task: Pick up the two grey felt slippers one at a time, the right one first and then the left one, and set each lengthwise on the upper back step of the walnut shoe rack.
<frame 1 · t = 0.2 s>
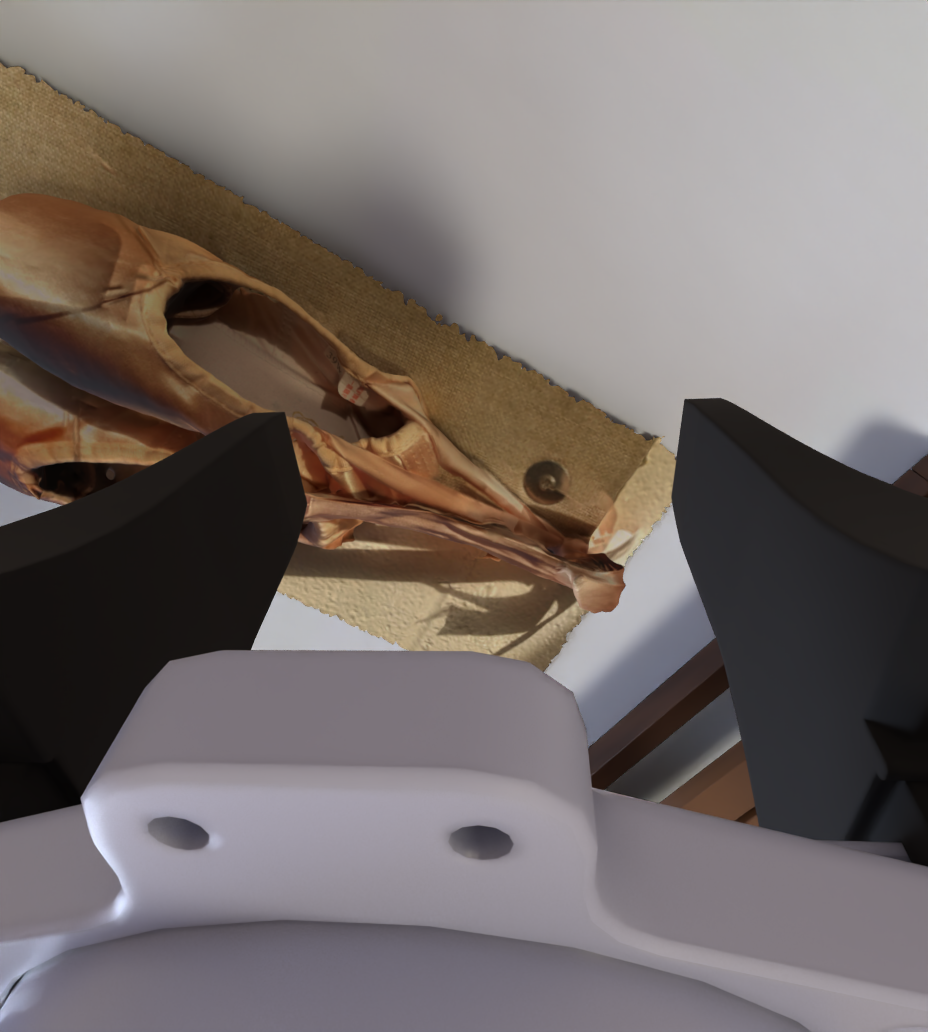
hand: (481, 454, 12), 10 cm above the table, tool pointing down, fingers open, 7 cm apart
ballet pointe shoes: (275, 417, 23), on the table
shoe rack: (815, 729, 28), on the table
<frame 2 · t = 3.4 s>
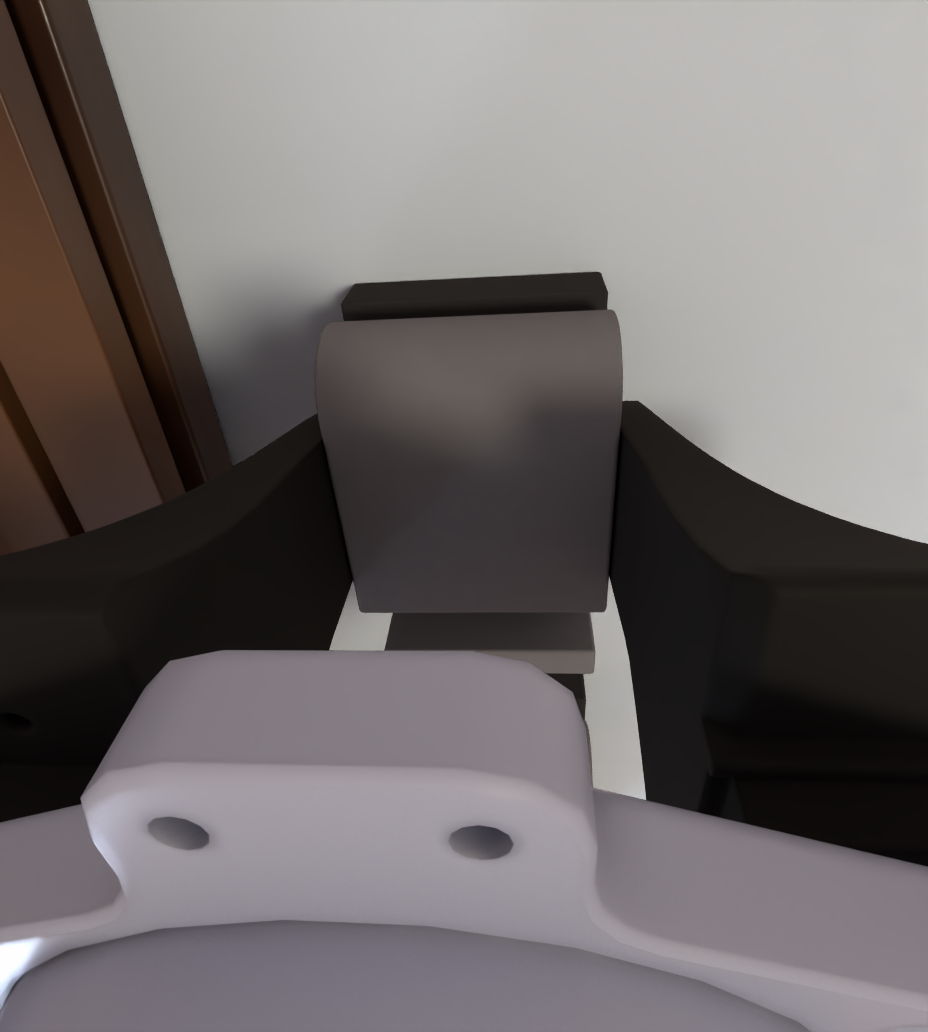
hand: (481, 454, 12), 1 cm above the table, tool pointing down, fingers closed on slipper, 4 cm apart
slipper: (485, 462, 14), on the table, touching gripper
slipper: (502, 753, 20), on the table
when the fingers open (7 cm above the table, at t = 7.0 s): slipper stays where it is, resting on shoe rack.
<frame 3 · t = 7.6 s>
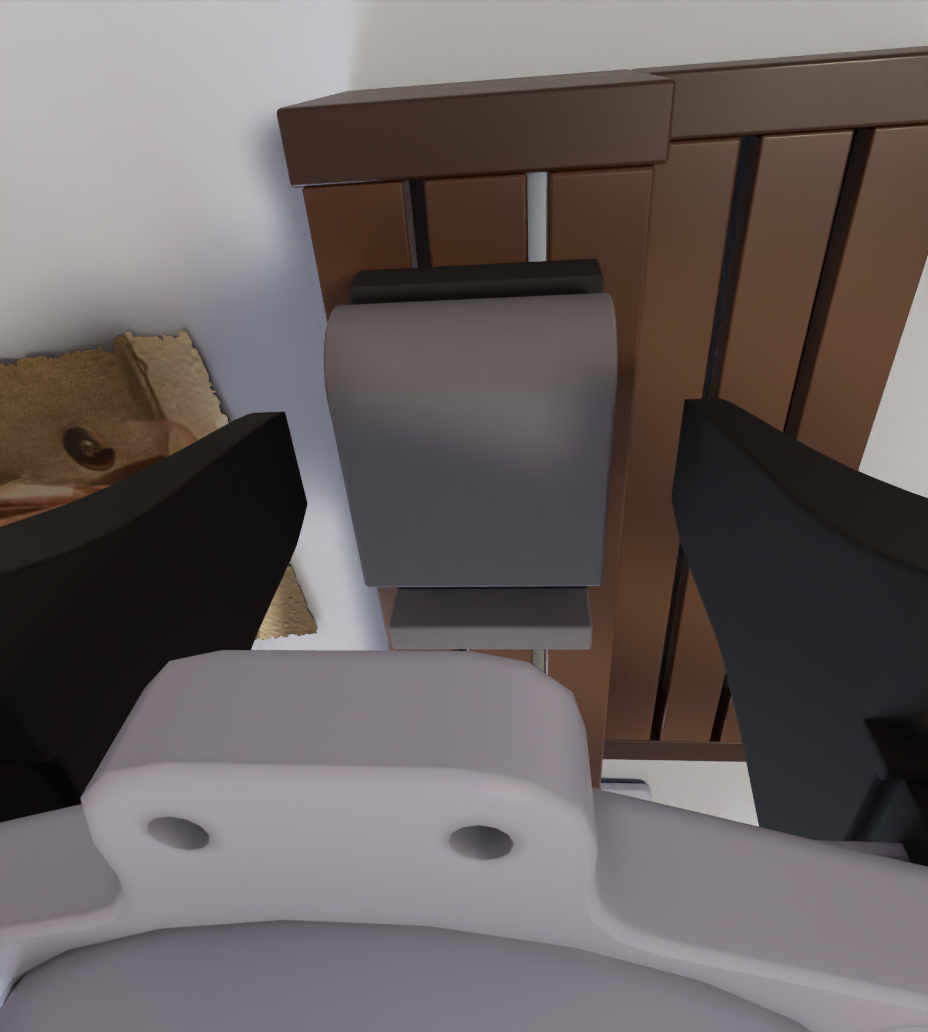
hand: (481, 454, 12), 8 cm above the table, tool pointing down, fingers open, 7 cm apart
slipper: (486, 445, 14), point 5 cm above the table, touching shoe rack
shoe rack: (602, 483, 21), on the table
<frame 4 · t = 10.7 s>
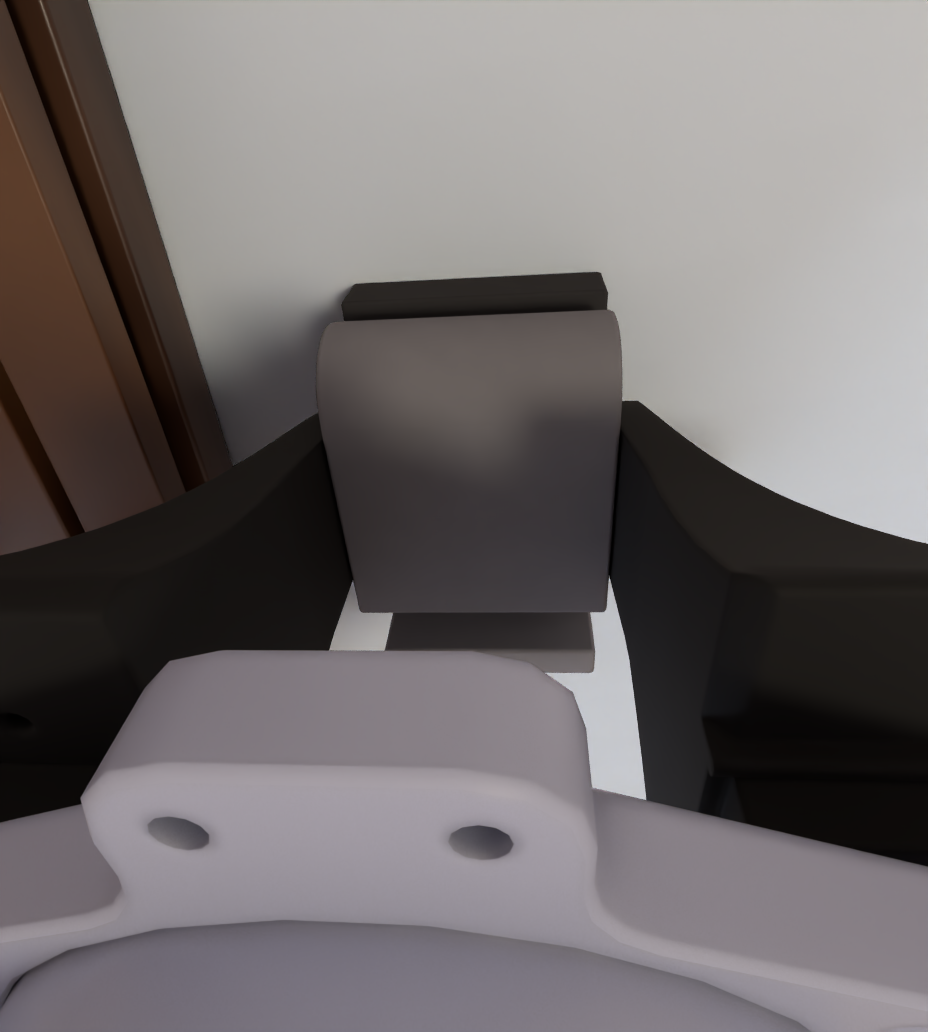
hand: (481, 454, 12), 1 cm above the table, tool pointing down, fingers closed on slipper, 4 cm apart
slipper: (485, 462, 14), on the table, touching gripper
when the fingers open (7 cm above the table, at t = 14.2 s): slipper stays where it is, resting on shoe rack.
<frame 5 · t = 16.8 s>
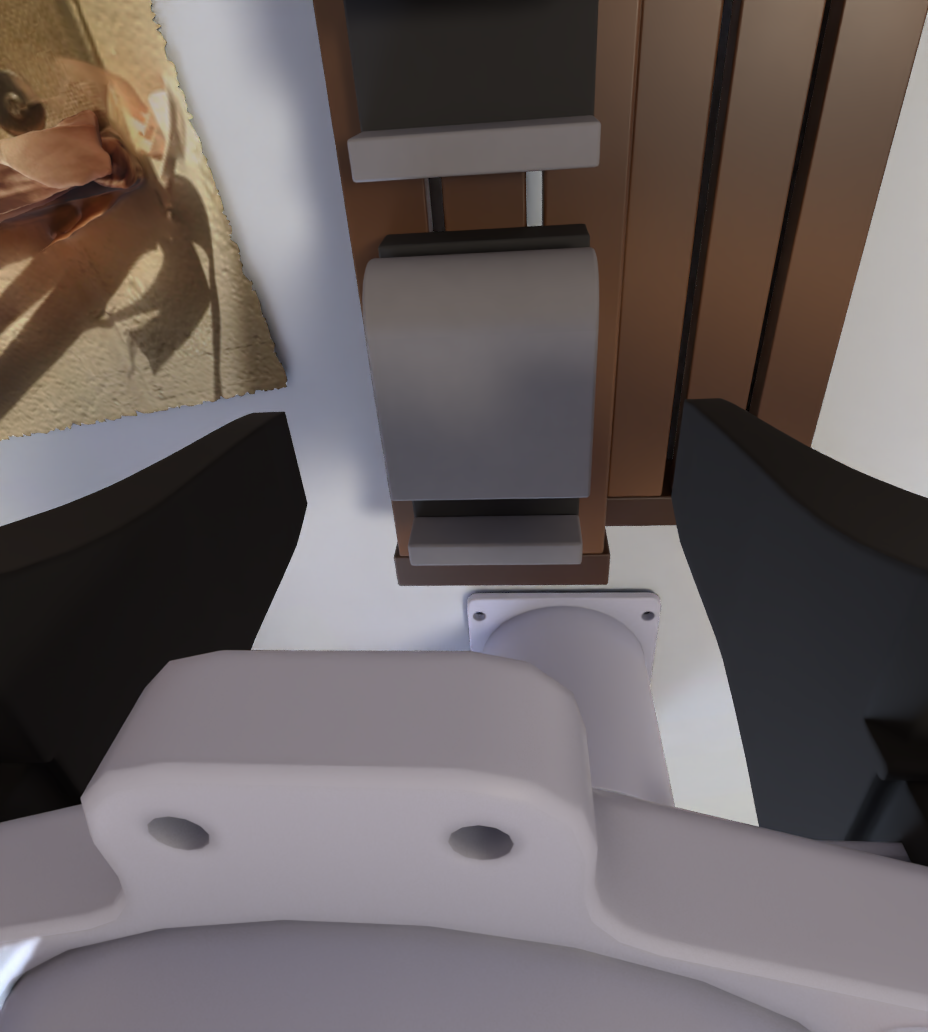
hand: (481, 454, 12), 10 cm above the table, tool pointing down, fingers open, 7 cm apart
shoe rack: (609, 153, 18), on the table
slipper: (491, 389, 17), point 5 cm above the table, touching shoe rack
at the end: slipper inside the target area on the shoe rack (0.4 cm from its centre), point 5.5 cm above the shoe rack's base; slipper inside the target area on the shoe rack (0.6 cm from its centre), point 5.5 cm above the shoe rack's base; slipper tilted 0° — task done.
